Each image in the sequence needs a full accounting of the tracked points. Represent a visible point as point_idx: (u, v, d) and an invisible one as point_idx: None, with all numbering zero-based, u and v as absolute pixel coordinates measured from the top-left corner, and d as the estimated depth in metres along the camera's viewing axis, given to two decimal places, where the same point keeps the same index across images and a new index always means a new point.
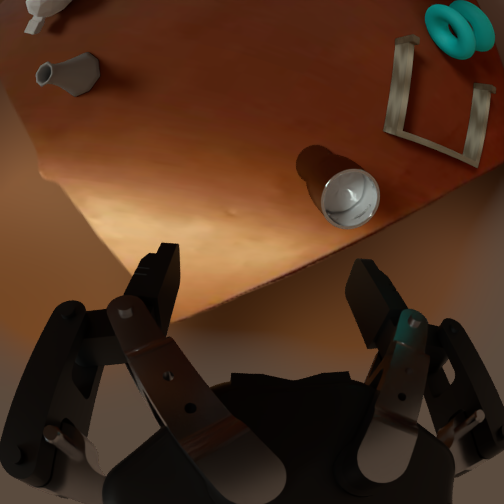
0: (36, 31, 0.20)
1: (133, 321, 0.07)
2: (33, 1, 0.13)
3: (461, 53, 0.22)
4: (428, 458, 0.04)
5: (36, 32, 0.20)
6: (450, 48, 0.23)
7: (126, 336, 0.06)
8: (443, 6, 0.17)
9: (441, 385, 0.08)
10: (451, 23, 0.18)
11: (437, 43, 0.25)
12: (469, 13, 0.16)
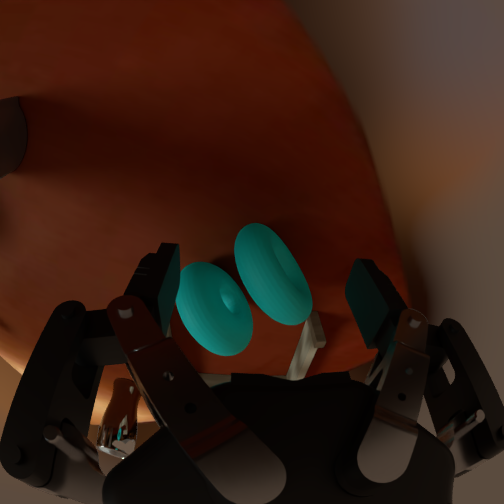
0: None
1: (133, 321, 0.07)
2: None
3: None
4: (428, 458, 0.04)
5: None
6: None
7: (126, 336, 0.06)
8: (178, 298, 0.23)
9: (441, 385, 0.08)
10: None
11: None
12: None
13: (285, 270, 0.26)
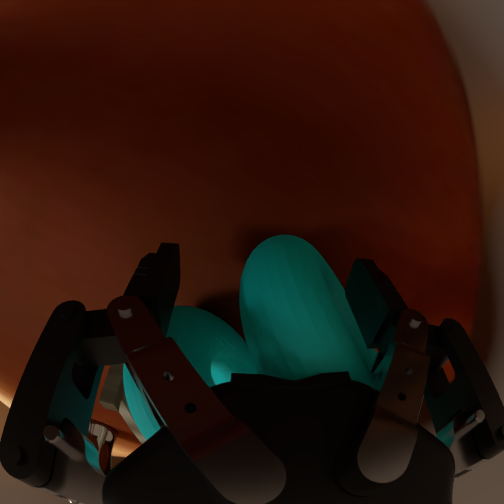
0: None
1: (132, 321, 0.07)
2: None
3: None
4: (428, 458, 0.04)
5: None
6: None
7: (126, 336, 0.06)
8: (126, 391, 0.09)
9: (441, 385, 0.08)
10: None
11: None
12: None
13: None
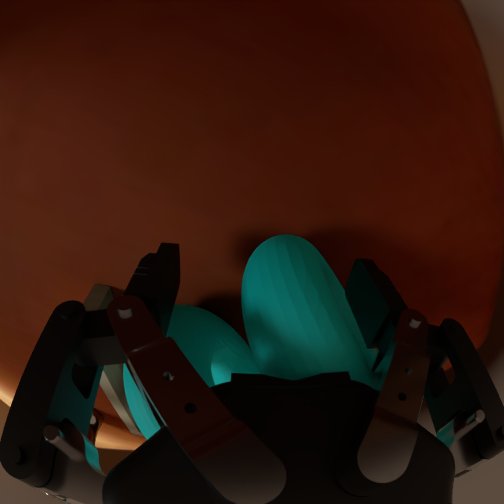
0: None
1: (133, 321, 0.07)
2: None
3: None
4: (428, 458, 0.04)
5: None
6: None
7: (126, 336, 0.06)
8: (126, 390, 0.09)
9: (441, 385, 0.08)
10: None
11: None
12: None
13: None
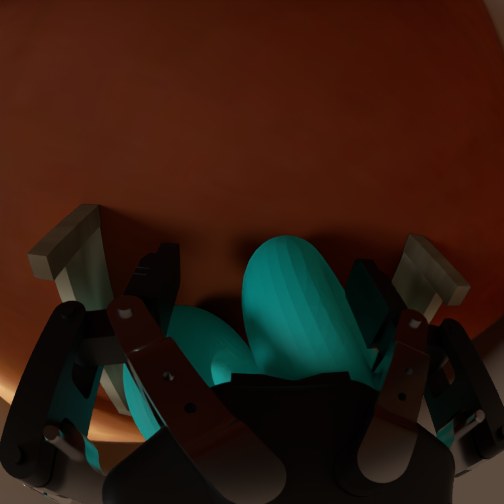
0: None
1: (132, 321, 0.07)
2: None
3: None
4: (428, 458, 0.04)
5: None
6: None
7: (126, 336, 0.06)
8: (126, 391, 0.09)
9: (441, 385, 0.08)
10: None
11: None
12: None
13: None
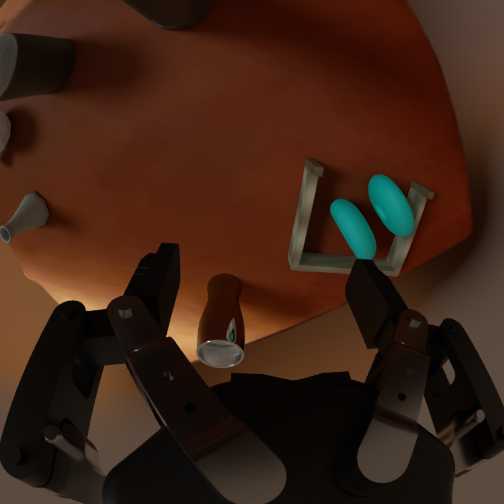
0: None
1: (132, 321, 0.07)
2: None
3: None
4: (428, 458, 0.04)
5: None
6: (351, 245, 0.40)
7: (126, 336, 0.06)
8: (343, 215, 0.34)
9: (441, 385, 0.08)
10: None
11: (342, 232, 0.41)
12: (384, 206, 0.33)
13: None
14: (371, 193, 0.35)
